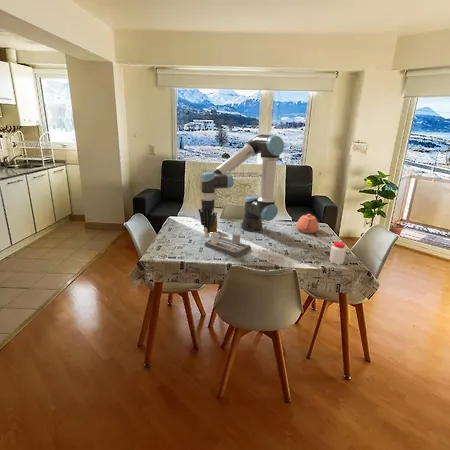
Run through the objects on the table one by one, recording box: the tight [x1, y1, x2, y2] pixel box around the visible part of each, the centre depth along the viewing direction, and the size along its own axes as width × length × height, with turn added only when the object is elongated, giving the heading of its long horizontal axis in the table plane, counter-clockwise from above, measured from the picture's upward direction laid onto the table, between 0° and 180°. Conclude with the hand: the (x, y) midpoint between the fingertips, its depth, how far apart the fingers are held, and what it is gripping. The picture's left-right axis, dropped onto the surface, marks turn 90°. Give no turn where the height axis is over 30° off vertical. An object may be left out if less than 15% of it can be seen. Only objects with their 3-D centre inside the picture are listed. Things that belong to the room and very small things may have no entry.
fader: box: [210, 232, 220, 244], centre depth 177 cm, size 4×3×6 cm
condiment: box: [203, 214, 220, 233], centre depth 202 cm, size 7×8×12 cm
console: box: [204, 232, 252, 258], centre depth 176 cm, size 24×14×8 cm, turn 52°
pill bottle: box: [328, 241, 347, 263], centre depth 163 cm, size 8×8×11 cm
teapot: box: [295, 213, 320, 234], centre depth 211 cm, size 22×16×12 cm
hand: (207, 237), depth 181 cm, fingers closed
